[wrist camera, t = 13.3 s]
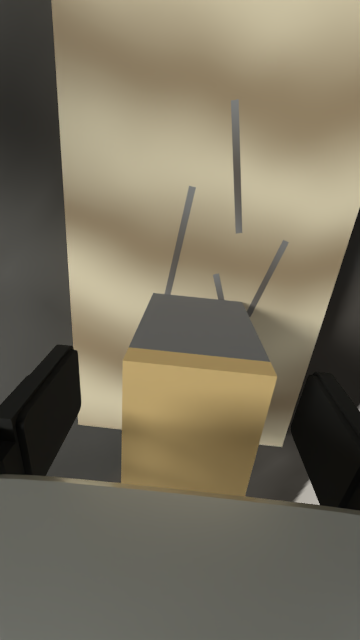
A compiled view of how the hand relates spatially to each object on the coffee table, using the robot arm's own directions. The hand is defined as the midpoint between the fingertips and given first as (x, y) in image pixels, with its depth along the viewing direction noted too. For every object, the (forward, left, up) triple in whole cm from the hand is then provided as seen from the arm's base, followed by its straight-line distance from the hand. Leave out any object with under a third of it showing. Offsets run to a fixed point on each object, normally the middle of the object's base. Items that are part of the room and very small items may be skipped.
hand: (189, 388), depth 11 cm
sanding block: (+1, 0, -4) cm, 4 cm away
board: (-5, 0, -6) cm, 8 cm away
